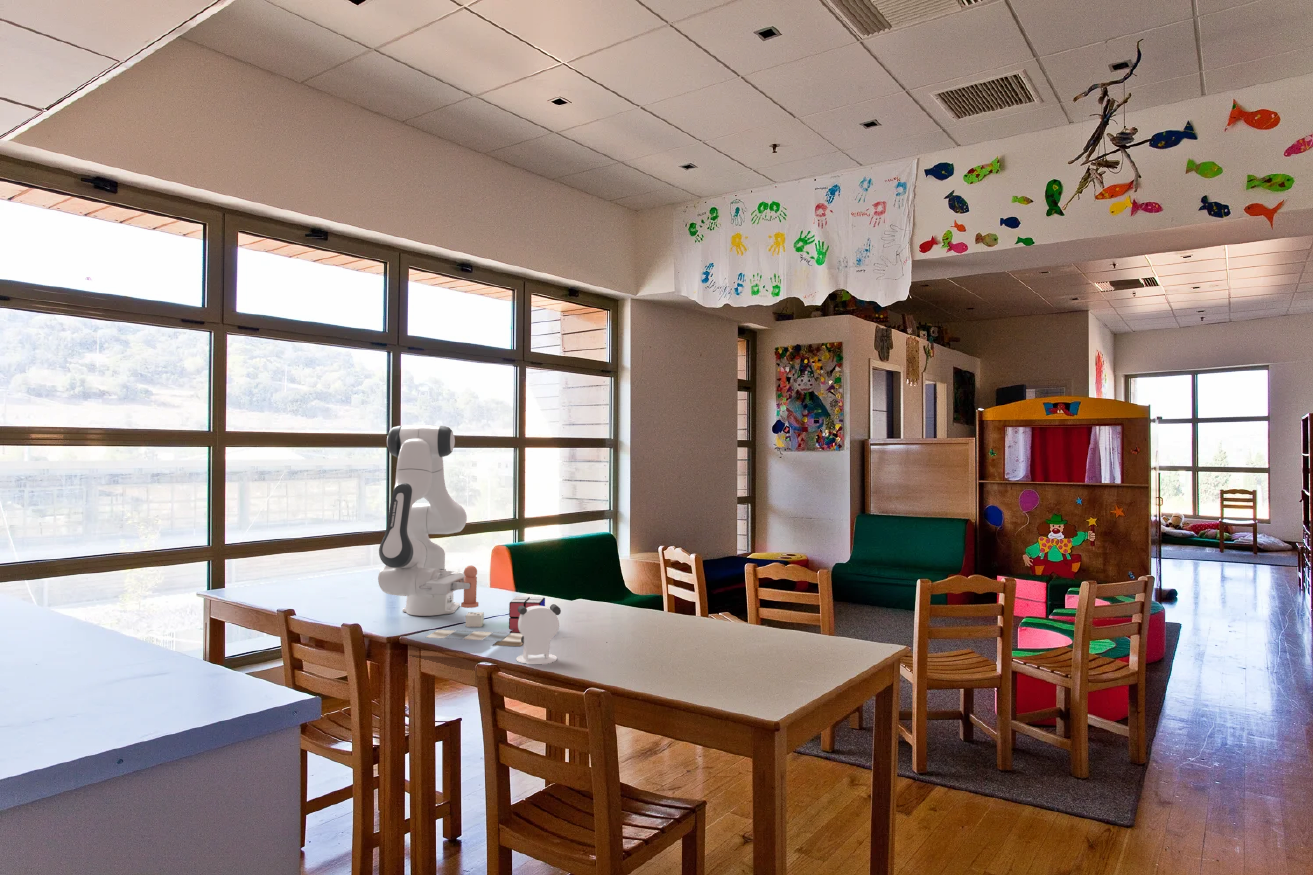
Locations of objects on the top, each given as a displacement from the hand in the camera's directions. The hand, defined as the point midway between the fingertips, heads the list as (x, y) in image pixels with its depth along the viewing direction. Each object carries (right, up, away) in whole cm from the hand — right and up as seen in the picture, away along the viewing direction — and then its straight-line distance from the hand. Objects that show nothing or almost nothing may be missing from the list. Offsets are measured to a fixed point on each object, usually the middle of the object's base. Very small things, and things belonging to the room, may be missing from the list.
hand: (473, 584), depth 248 cm
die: (-3, -17, +15) cm, 23 cm away
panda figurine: (+23, -17, -22) cm, 36 cm away
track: (+2, -17, 0) cm, 17 cm away
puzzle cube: (+14, -18, +15) cm, 27 cm away
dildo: (-1, -7, 0) cm, 7 cm away
